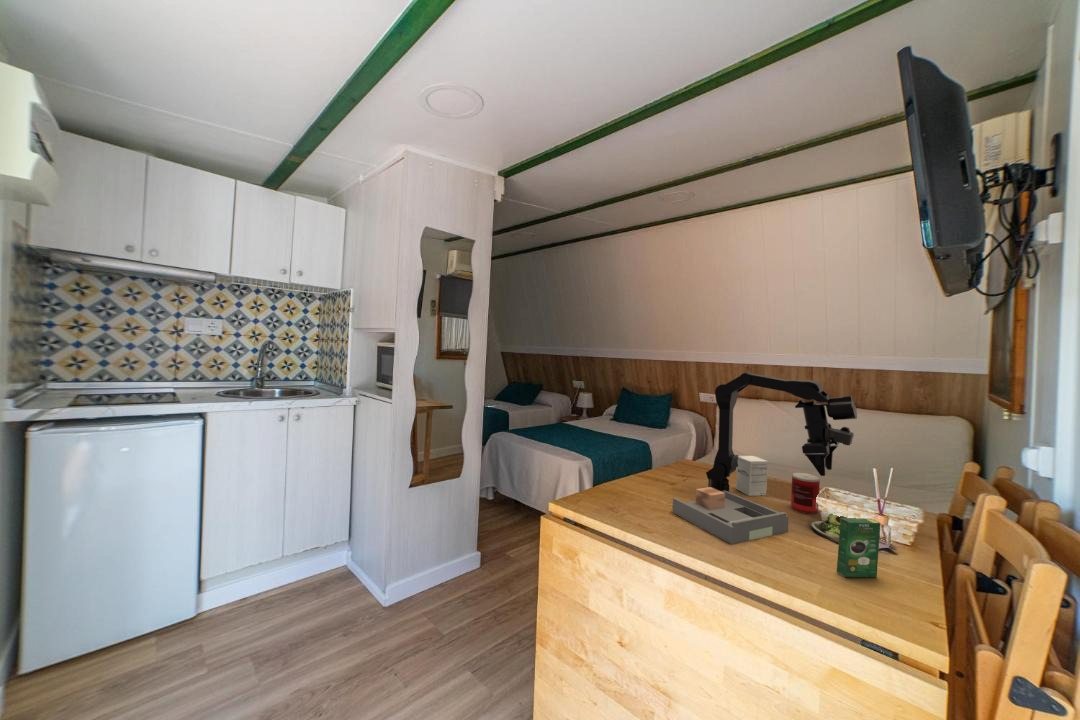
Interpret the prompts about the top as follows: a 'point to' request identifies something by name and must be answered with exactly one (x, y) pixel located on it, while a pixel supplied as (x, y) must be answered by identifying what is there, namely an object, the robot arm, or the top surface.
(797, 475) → the canned food
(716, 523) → the box
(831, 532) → the salad plate
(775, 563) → the top surface
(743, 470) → the supplement box
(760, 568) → the top surface
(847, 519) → the coffee box
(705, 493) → the block
